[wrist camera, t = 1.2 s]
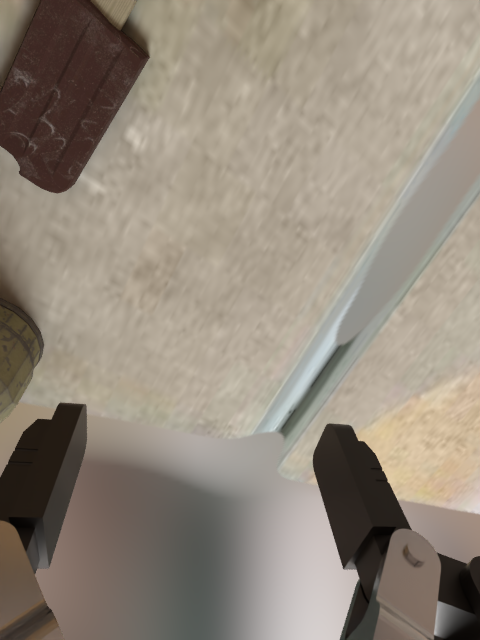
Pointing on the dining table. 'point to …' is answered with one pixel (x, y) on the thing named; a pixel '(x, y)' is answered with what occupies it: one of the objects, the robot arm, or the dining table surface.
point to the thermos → (16, 355)
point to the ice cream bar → (67, 87)
